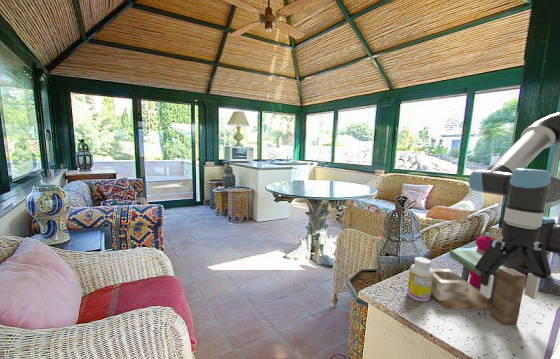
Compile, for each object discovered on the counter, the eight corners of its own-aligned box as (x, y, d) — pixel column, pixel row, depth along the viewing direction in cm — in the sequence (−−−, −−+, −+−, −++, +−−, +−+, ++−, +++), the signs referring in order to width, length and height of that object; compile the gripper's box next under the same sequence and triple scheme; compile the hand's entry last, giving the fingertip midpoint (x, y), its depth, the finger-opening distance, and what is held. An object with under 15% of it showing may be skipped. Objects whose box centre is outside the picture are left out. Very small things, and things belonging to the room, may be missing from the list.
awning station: (467, 284, 93) (473, 250, 91) (502, 309, 79) (509, 269, 77) (417, 283, 92) (421, 248, 90) (443, 308, 78) (449, 268, 76)
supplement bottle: (409, 288, 88) (414, 253, 86) (431, 296, 84) (436, 259, 82) (404, 296, 83) (409, 259, 81) (427, 305, 79) (433, 266, 77)
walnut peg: (503, 315, 76) (512, 268, 74) (516, 325, 72) (526, 275, 70) (490, 315, 75) (499, 268, 73) (503, 324, 71) (512, 275, 69)
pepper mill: (497, 291, 89) (506, 237, 86) (473, 288, 90) (482, 234, 87) (484, 281, 96) (493, 230, 93) (463, 278, 97) (471, 228, 94)
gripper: (549, 222, 74) (535, 289, 77) (467, 218, 73) (456, 287, 75) (580, 231, 66) (563, 305, 69) (489, 227, 65) (476, 303, 68)
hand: (507, 296), depth 72 cm, fingers open, 13 cm apart
